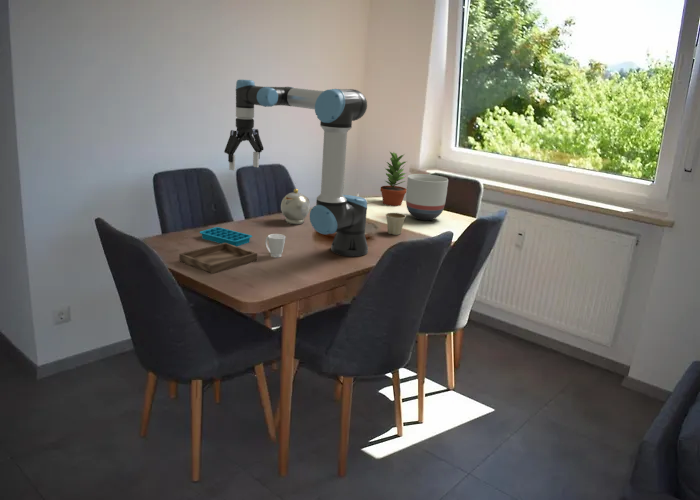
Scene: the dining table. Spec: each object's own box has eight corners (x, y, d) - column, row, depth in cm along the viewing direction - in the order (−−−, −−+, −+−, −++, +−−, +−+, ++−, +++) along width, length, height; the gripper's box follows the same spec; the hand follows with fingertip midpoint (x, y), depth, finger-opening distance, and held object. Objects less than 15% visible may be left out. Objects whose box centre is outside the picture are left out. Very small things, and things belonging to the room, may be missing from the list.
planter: (403, 212, 317) (406, 172, 311) (441, 215, 317) (445, 175, 310) (404, 222, 298) (408, 180, 291) (445, 225, 297) (450, 183, 291)
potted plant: (411, 205, 334) (416, 152, 325) (388, 207, 327) (393, 152, 318) (396, 199, 346) (400, 148, 337) (374, 201, 339) (378, 148, 330)
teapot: (296, 228, 274) (297, 193, 269) (273, 222, 281) (274, 188, 276) (319, 221, 289) (321, 188, 284) (297, 216, 296) (298, 183, 291)
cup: (274, 259, 230) (275, 239, 227) (258, 253, 236) (259, 233, 234) (288, 256, 235) (289, 236, 232) (272, 250, 241) (273, 230, 239)
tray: (257, 260, 227) (257, 253, 226) (211, 274, 210) (211, 266, 209) (225, 249, 237) (225, 242, 237) (179, 261, 221) (179, 253, 220)
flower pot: (393, 237, 271) (395, 218, 269) (379, 231, 278) (381, 213, 275) (408, 234, 277) (410, 216, 274) (394, 229, 284) (396, 211, 281)
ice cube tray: (217, 233, 260) (217, 226, 259) (253, 242, 250) (253, 235, 249) (198, 238, 250) (197, 232, 249) (234, 248, 241) (234, 241, 240)
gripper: (260, 116, 261) (259, 164, 267) (215, 117, 242) (215, 169, 248) (272, 118, 257) (271, 167, 263) (228, 120, 238) (227, 172, 244)
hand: (244, 168), depth 256 cm, fingers open, 13 cm apart
